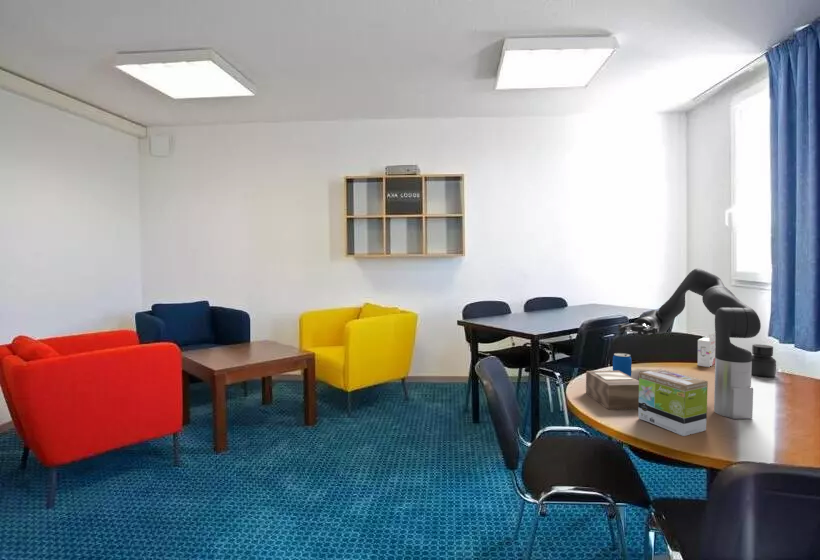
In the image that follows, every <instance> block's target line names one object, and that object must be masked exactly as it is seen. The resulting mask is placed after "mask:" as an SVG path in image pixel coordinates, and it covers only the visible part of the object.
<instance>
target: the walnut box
mask: <svg viewBox="0 0 820 560" xmlns="http://www.w3.org/2000/svg"><path fill="white" fill-rule="evenodd" d="M585 379H586V380H585V393H586V395H588V396H590V397H591V398H592V399H593V400H595V401H596V402H598V404H599V403H600V405H602V406H603V407H605V408H606V409H607V410H638V403H639V379H636V378H634V377H633V376H631V377H630V376H629V375H627V374H625V373H623V372H621V371H613V370H586V372H585Z"/></svg>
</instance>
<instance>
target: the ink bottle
mask: <svg viewBox="0 0 820 560" xmlns="http://www.w3.org/2000/svg"><path fill="white" fill-rule="evenodd" d="M751 348H752V349H751V354H752V370H751V376H754V377H755V376H756V377H760V378H761V377H762V378H773V377H776V376H777V360H776V359H775V358H774V357H773V356H774V346H772V345H768V344H756V343H755V344H752V347H751Z"/></svg>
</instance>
